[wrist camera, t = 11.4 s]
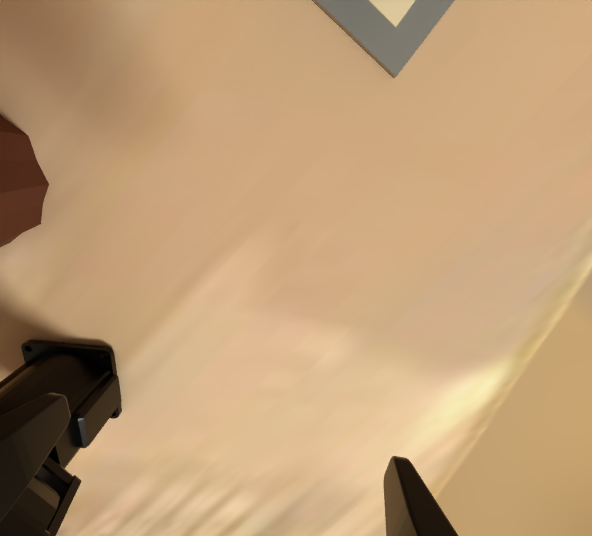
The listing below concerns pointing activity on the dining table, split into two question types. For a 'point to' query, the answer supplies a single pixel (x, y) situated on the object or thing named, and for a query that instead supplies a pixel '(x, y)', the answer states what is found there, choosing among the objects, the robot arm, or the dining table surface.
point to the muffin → (18, 184)
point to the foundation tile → (387, 26)
